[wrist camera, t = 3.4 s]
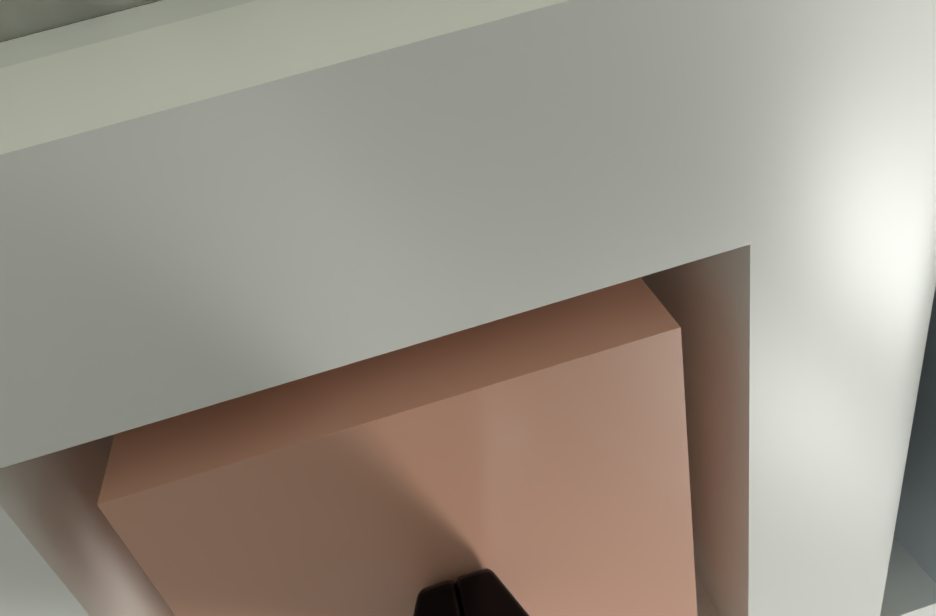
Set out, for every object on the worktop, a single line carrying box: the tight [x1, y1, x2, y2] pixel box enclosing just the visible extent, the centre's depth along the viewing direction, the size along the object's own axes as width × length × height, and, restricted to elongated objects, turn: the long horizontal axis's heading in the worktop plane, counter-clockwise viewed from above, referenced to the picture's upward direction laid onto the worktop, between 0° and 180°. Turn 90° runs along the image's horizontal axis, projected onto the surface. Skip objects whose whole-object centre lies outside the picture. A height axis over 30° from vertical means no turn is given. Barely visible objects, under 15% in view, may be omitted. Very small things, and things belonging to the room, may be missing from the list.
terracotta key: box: [97, 277, 698, 616], centre depth 10 cm, size 6×6×3 cm
